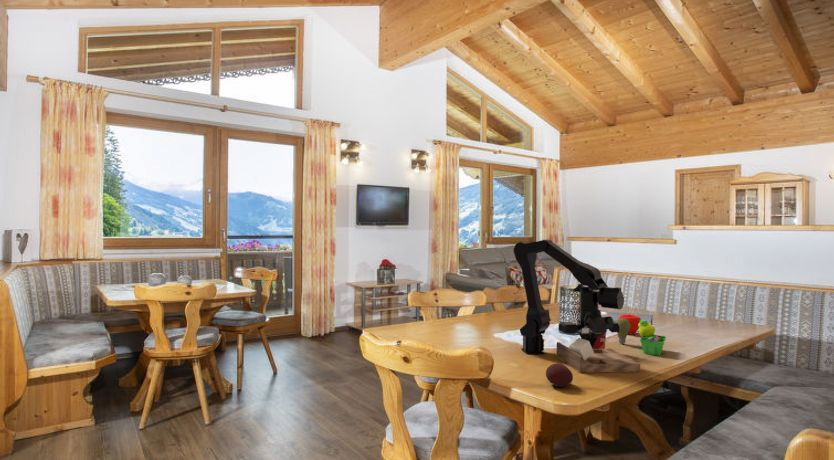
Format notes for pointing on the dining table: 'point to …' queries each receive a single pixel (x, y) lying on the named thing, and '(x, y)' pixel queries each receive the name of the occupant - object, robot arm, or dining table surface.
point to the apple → (632, 322)
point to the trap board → (597, 360)
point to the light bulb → (623, 329)
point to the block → (582, 348)
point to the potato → (559, 375)
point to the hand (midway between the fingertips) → (589, 353)
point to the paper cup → (601, 337)
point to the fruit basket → (650, 339)
